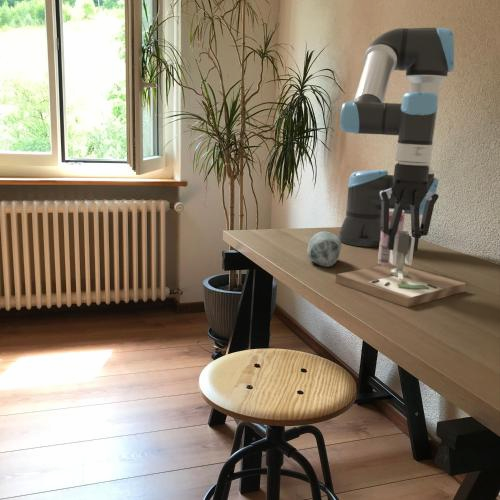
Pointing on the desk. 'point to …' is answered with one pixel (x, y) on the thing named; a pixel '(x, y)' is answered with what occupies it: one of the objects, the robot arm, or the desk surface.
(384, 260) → the beverage can
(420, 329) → the desk surface
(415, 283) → the dial board
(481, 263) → the desk surface
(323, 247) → the pale teal yarn skein
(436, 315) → the desk surface
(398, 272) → the grey piece
